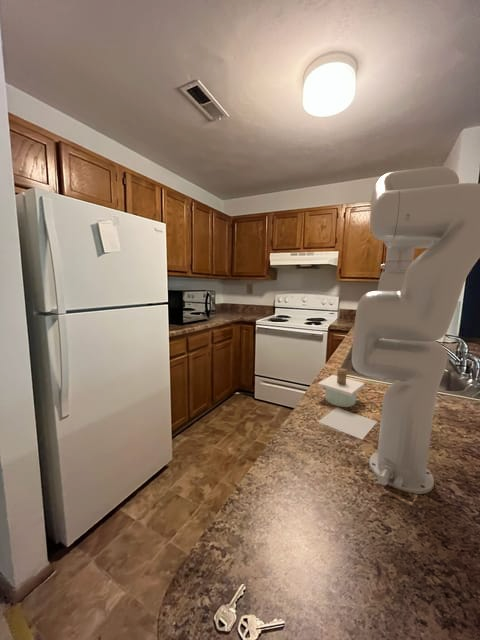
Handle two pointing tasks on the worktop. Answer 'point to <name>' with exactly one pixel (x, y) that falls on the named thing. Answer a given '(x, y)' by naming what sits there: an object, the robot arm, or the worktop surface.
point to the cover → (341, 383)
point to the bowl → (340, 398)
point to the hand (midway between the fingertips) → (393, 321)
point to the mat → (348, 422)
